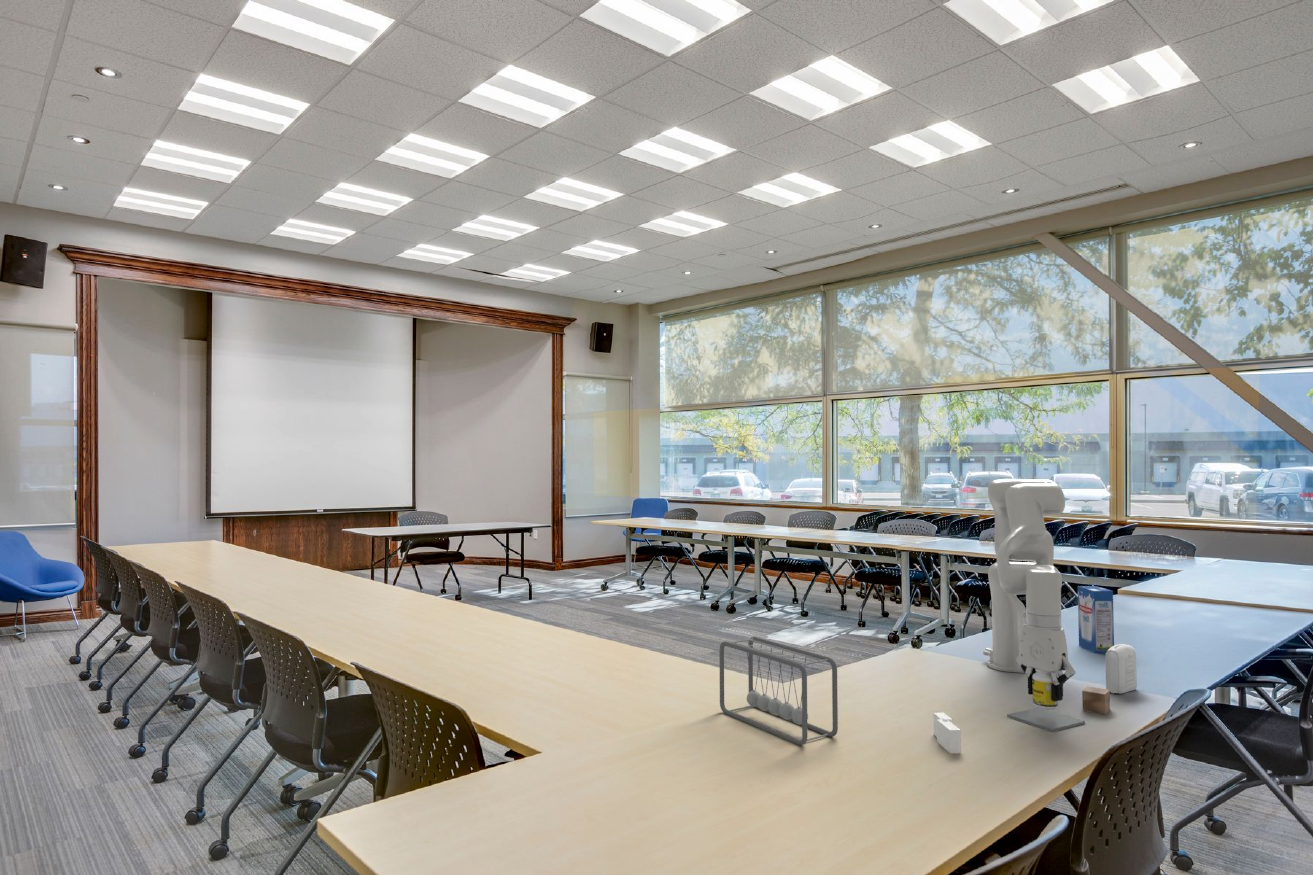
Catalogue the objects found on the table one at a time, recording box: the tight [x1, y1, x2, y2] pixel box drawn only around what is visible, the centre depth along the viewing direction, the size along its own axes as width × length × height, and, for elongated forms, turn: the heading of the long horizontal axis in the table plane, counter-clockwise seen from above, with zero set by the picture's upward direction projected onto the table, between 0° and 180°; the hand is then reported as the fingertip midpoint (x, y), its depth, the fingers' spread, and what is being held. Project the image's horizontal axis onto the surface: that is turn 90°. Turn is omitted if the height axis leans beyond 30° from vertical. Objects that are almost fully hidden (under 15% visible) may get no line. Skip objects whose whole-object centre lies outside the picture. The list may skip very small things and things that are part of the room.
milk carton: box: [1077, 585, 1115, 654], centre depth 256 cm, size 10×6×20 cm, turn 179°
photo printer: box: [1105, 643, 1138, 695], centre depth 210 cm, size 10×4×12 cm, turn 123°
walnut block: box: [1081, 685, 1111, 716], centre depth 193 cm, size 5×5×5 cm
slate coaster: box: [1006, 707, 1086, 733], centre depth 185 cm, size 12×12×1 cm
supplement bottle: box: [1032, 669, 1059, 711], centre depth 186 cm, size 5×5×10 cm
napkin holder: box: [933, 712, 962, 754], centre depth 171 cm, size 15×11×6 cm
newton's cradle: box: [719, 636, 839, 746], centre depth 183 cm, size 30×10×18 cm, turn 34°
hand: (1045, 696), depth 186 cm, fingers closed on supplement bottle, 5 cm apart
